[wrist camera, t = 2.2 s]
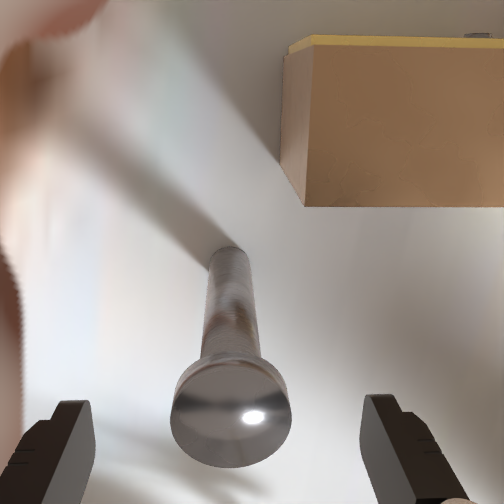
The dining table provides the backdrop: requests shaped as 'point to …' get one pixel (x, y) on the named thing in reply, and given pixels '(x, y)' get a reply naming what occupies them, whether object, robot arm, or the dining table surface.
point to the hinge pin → (230, 378)
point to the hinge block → (394, 121)
